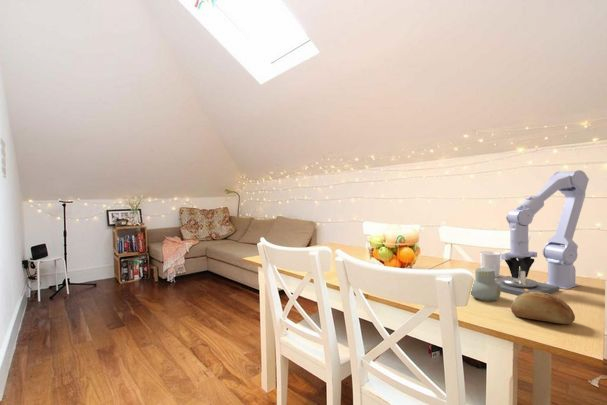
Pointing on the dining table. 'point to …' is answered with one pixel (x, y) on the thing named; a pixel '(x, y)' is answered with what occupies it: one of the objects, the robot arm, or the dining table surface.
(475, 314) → the dining table surface
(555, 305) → the bread roll
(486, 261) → the white cup
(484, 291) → the air freshener
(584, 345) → the dining table surface
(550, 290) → the dial base
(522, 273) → the dial
